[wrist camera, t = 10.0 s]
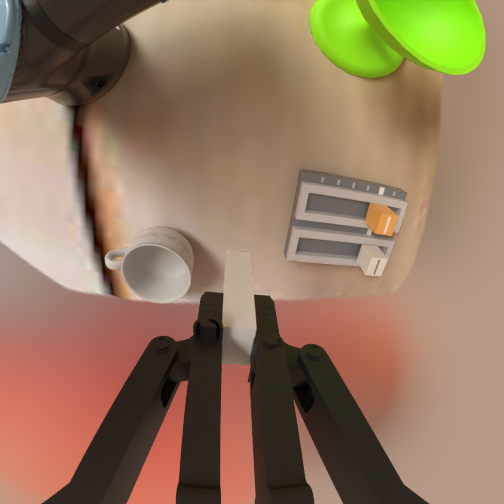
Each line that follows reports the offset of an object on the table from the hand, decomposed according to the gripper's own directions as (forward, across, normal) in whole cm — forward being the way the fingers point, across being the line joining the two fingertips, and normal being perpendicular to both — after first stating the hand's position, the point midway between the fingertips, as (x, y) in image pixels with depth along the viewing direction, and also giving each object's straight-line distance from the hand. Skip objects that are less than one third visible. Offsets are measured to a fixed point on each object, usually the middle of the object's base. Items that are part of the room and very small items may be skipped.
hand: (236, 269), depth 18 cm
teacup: (+25, -12, -13) cm, 30 cm away
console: (+24, +18, -5) cm, 31 cm away
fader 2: (+22, +22, -9) cm, 32 cm away
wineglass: (+25, +15, +26) cm, 39 cm away
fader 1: (+22, +21, -2) cm, 31 cm away
